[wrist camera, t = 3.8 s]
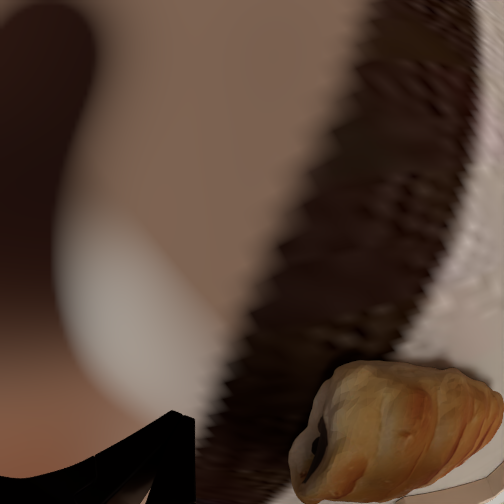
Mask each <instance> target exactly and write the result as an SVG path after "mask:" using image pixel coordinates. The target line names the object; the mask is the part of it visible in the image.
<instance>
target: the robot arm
mask: <svg viewBox="0 0 504 504" xmlns="http://www.w3.org/2000/svg"><path fill="white" fill-rule="evenodd" d="M150 488H151V489H150ZM149 490H150V492H149V495H148V498H147V501H146V503H145V504H196V480H195V419H194V418H191V417H189V416H186V415H184V416H183V415H182V414H181V413H178V412H176V411H173V410H171V411H169V412H168V413H166V414H164V415H163V416H161V417H160V418H158V419H157V420H155V421H154V422H152V423H150V424H149V425H147V426H145V427H144V428H142V429H140V430H139V431H137V432H135V433H134V434H132V435H130V436H128V437H127V438H125V439H124V440H121V441H120V442H118V443H116V444H114V445H113V446H111V447H109V448H107V449H105V450H103V451H101V452H100V453H98V454H96V455H95V457H94V456H92V457H90V458H88V459H86V460H84V461H82V462H79V463H77V464H75V465H72V466H70V467H67V468H64V469H61V470H57V471H54V472H50V473H47V474H43V475H39V476H34V477H30V478H9V477H4V476H0V504H140V503H141V502H142V500H143V499H144V497H145V496H146V494H147V493H148V491H149Z"/></svg>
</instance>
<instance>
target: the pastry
mask: <svg viewBox="0 0 504 504" xmlns="http://www.w3.org/2000/svg"><path fill="white" fill-rule="evenodd" d="M503 412H504V402H503V398H502V396H501V394H500V393H498V392H496V391H493V390H492V389H491V388H488V386H487V385H486V384H485V383H484V382H481V381H477V380H473V379H471V378H468V377H467V376H465V375H464V374H463V373H462V372H460V371H459V370H458V369H456V368H447V369H445V370H438V369H436V368H433V367H422V366H416V365H412V364H410V363H399V362H386V361H380V360H378V361H364V360H359V361H353V362H350V363H347V364H344V365H342V366H339V367H338V368H336V369H335V371H334V374H333V376H332V377H331V378H330V379H329V380H326V381H325V382H324V383H323V384H322V386H321V387H320V389H319V391H318V393H317V395H316V396H315V398H314V400H313V407H312V411H311V413H310V417H309V421H308V427H307V428H306V429H305V430H304V431H303V432H302V433H300V434H299V436H298V437H297V438H296V439H295V441H294V442H293V444H292V447H291V449H290V451H289V460H288V463H289V466H290V474H291V482H292V486H293V489H294V492H295V493H296V496H297V497H298V498H299V499H300V500H301V501H302V502H303V503H305V504H317V503H319V502H320V501H322V500H324V499H326V500H330V501H345V502H359V503H369V502H378V503H382V502H386V501H389V500H392V499H395V498H400V497H403V496H405V495H407V494H408V493H409V492H411V491H412V490H413V489H418V488H423V487H426V486H429V485H431V484H433V483H435V482H436V481H437V480H438V479H440V478H442V477H444V476H445V475H446V474H447V473H449V472H450V471H452V470H453V469H454V468H456V467H458V466H460V465H462V464H463V463H464V462H465V461H466V460H467V459H468V458H469V457H471V456H472V455H473V454H475V453H476V452H478V451H479V450H480V449H482V448H483V447H484V446H485V445H486V444H488V443H489V442H490V441H491V439H492V438H493V436H494V435H495V433H496V432H497V430H498V429H499V427H500V425H501V423H502V419H503Z"/></svg>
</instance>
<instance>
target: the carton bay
mask: <svg viewBox="0 0 504 504" xmlns="http://www.w3.org/2000/svg"><path fill="white" fill-rule="evenodd" d="M503 490H504V462H503V463H502V464H501V465H500V466H499V467H498V468H497V469H496V470H494V471H493V472H492V473H491V474H490V475H489V476H488V477H487V478H484V479H481V480H478V481H475V482H472V483H468V484H465V485H461V486H458V487H454V488H450V489H445V490H441V491H436V492H431V493H426V494H420V495H414V496H407V497H403V498H402V499H400V500H399V501H397V502H396V503H395V504H484V503H487V502H489V501H491V500H492V499H494V498H495V497H496V496H497V495H499V494H500V493H501V492H502V491H503Z"/></svg>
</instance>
